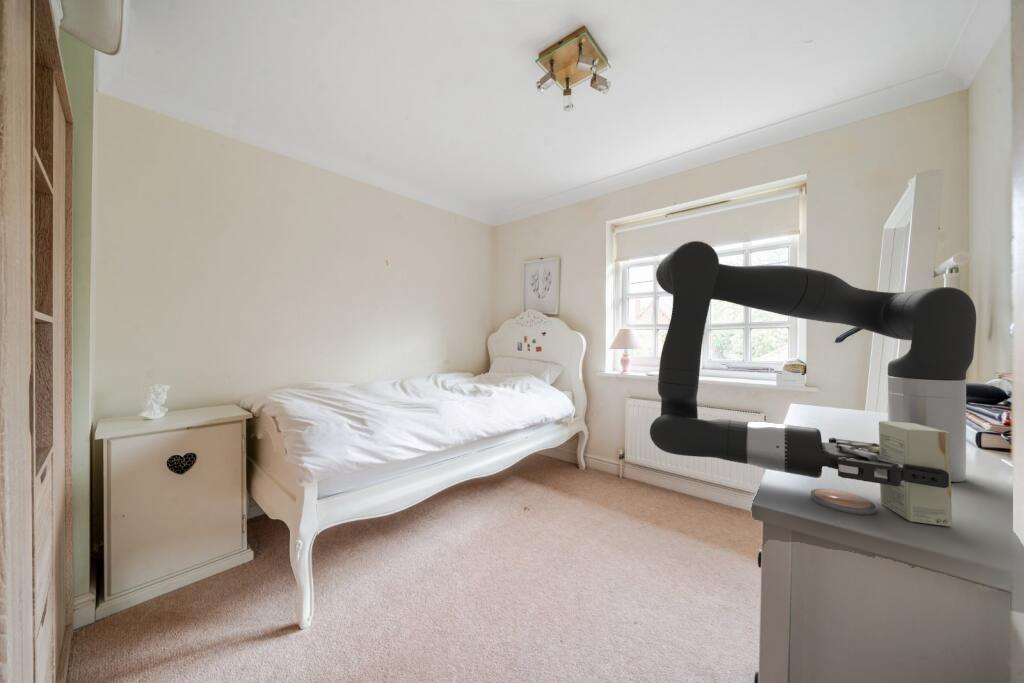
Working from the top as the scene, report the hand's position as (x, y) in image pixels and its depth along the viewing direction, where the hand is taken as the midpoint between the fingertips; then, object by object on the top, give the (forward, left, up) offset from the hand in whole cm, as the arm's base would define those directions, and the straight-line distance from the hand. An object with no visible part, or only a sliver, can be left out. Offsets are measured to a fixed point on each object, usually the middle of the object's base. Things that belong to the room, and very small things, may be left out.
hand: (937, 470), depth 47 cm
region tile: (0, -10, -7) cm, 12 cm away
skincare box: (0, -2, -7) cm, 7 cm away
